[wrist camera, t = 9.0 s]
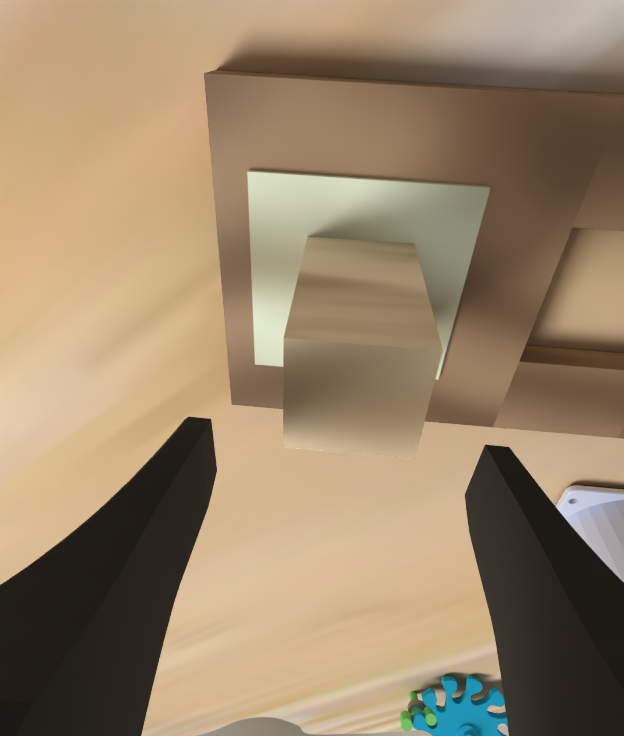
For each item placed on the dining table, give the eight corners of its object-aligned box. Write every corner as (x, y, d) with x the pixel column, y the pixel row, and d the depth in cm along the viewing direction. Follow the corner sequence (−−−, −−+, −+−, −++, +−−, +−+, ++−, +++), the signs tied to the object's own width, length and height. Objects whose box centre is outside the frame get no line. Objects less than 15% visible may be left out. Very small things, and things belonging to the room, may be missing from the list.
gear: (533, 698, 41) (517, 817, 40) (511, 665, 47) (496, 769, 46) (412, 665, 43) (393, 779, 42) (406, 637, 49) (388, 737, 47)
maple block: (398, 333, 19) (414, 458, 14) (304, 327, 19) (283, 447, 14) (414, 243, 17) (442, 350, 11) (307, 236, 17) (283, 338, 11)
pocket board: (664, 423, 23) (682, 446, 22) (237, 386, 24) (230, 407, 23) (887, 110, 15) (938, 118, 13) (215, 69, 15) (202, 73, 14)
